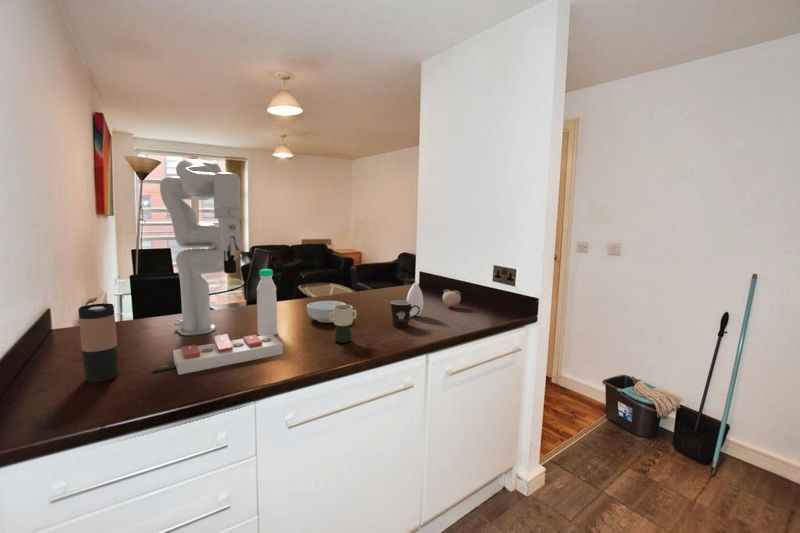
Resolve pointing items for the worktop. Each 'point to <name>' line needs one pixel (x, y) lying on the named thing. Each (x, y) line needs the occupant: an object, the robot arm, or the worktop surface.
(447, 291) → the pale pink rounded piece
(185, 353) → the rocker left
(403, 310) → the coffee mug
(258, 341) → the rocker right
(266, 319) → the water bottle
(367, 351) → the worktop surface
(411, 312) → the sauce bottle
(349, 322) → the character mug
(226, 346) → the rocker middle
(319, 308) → the cereal bowl
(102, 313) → the travel mug
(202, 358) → the power strip
